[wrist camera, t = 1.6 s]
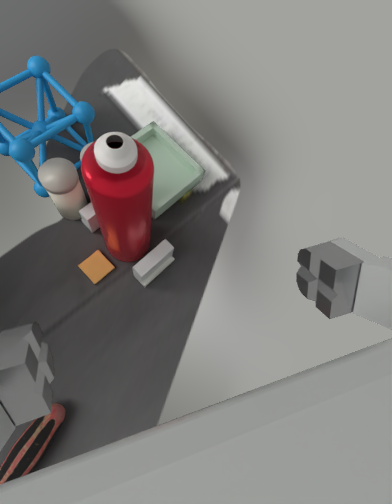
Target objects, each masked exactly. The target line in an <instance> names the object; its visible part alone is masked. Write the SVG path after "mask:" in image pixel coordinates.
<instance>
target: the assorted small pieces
mask: <svg viewBox="0 0 392 504" xmlns="http://www.w3.org/2000/svg"><path fill="white" fill-rule="evenodd" d="M131 138H133V139H135V140H137V141H138V142H140V143H141V144H142V145H143V146H144V147H145V148H146V149H147V150H148V151H149V153H150V154H151V157H152V159H153V163H154V182H153V199H152V217H153V218H154V219H156V218H157V217H158V216H160V215H161V214H162V213H163V212H164V211H166V210H167V209H168V208H169V207H170V206H172V205H173V204H174V203H175V202H177V201H178V200H179V199H180V198H181V197H183V196H184V195H185V194H186V193H187V192H189V191H190V190H191V189H192V188H193V187H195V186H196V185H197V184H198V183H199V182H201V181H202V179H203V176H204V173H205V170H204V169H203V168H202V167H201V166H200V165H199V164H198V163H197V162H196V161H195V160H194V159H192V158H191V157H190V156H189V155H188V154H187V153H186V152H185V151H184V150H183V149H182V148H181V147H180V146H179V145H178V144H177V143H176V142H175V141H174V140H173V139H172V138H171V137H170V136H168V135H167V134H166V133H165V132H164V131H163V130H162V129H161V128H160V127H159V126H158V125H157V124H156V123H155V122H154V121H153V122H151V123H150V124H149V125H147V126H146V127H144V128H143V129H141V130H140V131H138V132H137V133H136V134H134V135H133V136H131ZM92 143H93V142H91V143H89V144H87V145H86V146H84V147H83V149H82V150H81V153H80V159H81V160H82V157H83V154H84V152H85V151H86V149H87V148H88V147H89V146H90V145H91V144H92ZM38 179H39V181H40V182H41V184H42V186H43V187H44V189H45V190H46V191H47V192H48V194H49V196H50V197H51V199H52V201H53V202H54V204H55V206H56V207H57V209H58V211H59V212H60V214H61V215H62V216H63V217H64V218H66V219H68V220H78V219H81V218H82V219H81V220H82V222H83V223H84V224H85V225H86V226H87V227H88V228H89V230H90V231H91V232H92V233H93V232H95V231H96V230H97V229H99V228H100V226H99V223H98V220H97V217H96V214H95V211H94V208H93V206H92V203H91V202H90V203H89V204H88V202H87V200H86V197H85V194H84V192H83V189H82V186H81V184H80V181H79V176H78V173H77V170H76V168H75V166H74V164H73V163H72V162H70V161H69V160H67V159H64V158H52V159H49V160H47V161H45V162H44V163H43V164H42V165H41V166H40V168H39V170H38ZM173 251H174V247H173V246H172V245H171V244H170V243H169V242H168V241H167V240H166V239H165V240H163V241H162V242H161V243H160V244H159V245H158V246H156V247H155V248H154V249H153V250H152V251H151V252H150V253H148V254H147V255H146V256H145V257H144V258H143V259H141V260H140V261H139V262H138V263H137V264H136V265H135V266H133V267H132V268H133V275H134V277H135V278H136V279H137V280H138V281H139V282H140V283H141V284H142V285H143V286H144V287H146V286H147V285H148V284H149V283H150V282H151V281H152V280H153V279H154V278H156V277H157V276H158V275H159V274H160V273H161V272H162V271H163V270H164V269H165V268H167V267H168V266H169V265H170V264H171V263H172V262H173V261H174V260H175V259H174V258H173V257H172V254H173ZM78 267H79V268H80V269H81V270H82V271H83V272H84V273H85V274H86V275H87V276H88V277H89V278H90V279H91V281H92V282H93V283H94V284H97V283H98V282H99V281H100V280H101V279H102V278H104V277H105V276H106V275H107V274H108V273H110V272H111V271H112V270H113V269H114V268H115V267H114V266H113V265H112V264H111V263H110V262H109V261H108V260H107V259H106V258H105V257H104V256H103V254H102V253H101V252H100V251H99V250H97V251H96V252H95V253H93V254H92V255H91V256H90V257H88V258H87V259H86V260H85V261H83V262H82V263H81V264H80V265H78Z"/></svg>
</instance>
